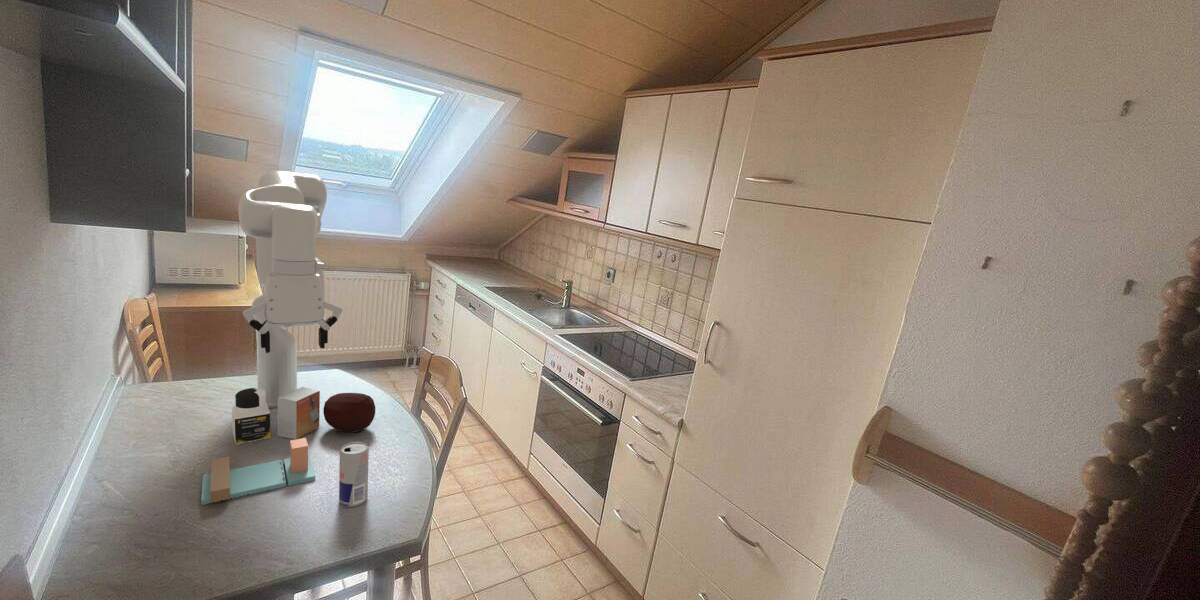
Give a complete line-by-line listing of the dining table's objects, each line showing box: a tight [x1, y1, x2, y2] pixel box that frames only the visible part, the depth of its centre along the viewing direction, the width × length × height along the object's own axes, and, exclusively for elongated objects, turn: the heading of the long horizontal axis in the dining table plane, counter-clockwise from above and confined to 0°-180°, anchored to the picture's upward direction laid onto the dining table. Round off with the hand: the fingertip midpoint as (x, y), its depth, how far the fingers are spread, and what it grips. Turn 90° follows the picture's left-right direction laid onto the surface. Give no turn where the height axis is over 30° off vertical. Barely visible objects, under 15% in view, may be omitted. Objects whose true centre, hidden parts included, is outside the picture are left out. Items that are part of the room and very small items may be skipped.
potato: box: [322, 392, 376, 433], centre depth 128 cm, size 11×13×10 cm
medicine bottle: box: [231, 387, 272, 445], centre depth 119 cm, size 7×7×12 cm
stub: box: [283, 437, 316, 487], centre depth 108 cm, size 10×5×7 cm, turn 37°
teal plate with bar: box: [200, 456, 287, 506], centre depth 102 cm, size 13×14×3 cm
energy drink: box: [338, 441, 370, 508], centre depth 100 cm, size 5×5×12 cm
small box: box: [277, 386, 321, 440], centre depth 124 cm, size 8×6×10 cm
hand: (295, 348), depth 100 cm, fingers open, 9 cm apart
